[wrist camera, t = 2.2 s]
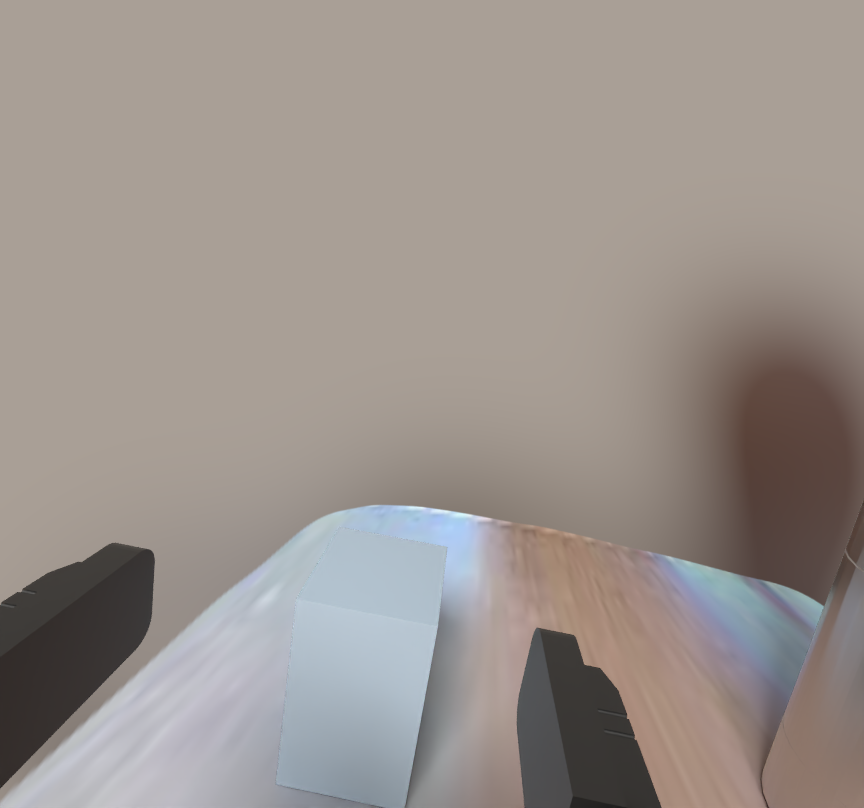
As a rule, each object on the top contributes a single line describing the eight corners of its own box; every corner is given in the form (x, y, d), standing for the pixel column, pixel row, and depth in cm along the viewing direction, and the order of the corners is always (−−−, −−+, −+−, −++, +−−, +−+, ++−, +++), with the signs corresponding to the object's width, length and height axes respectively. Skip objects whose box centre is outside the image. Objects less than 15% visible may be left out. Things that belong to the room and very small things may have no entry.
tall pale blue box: (320, 676, 31) (338, 526, 29) (420, 696, 31) (447, 547, 28) (275, 784, 24) (296, 598, 22) (403, 812, 24) (438, 626, 22)
